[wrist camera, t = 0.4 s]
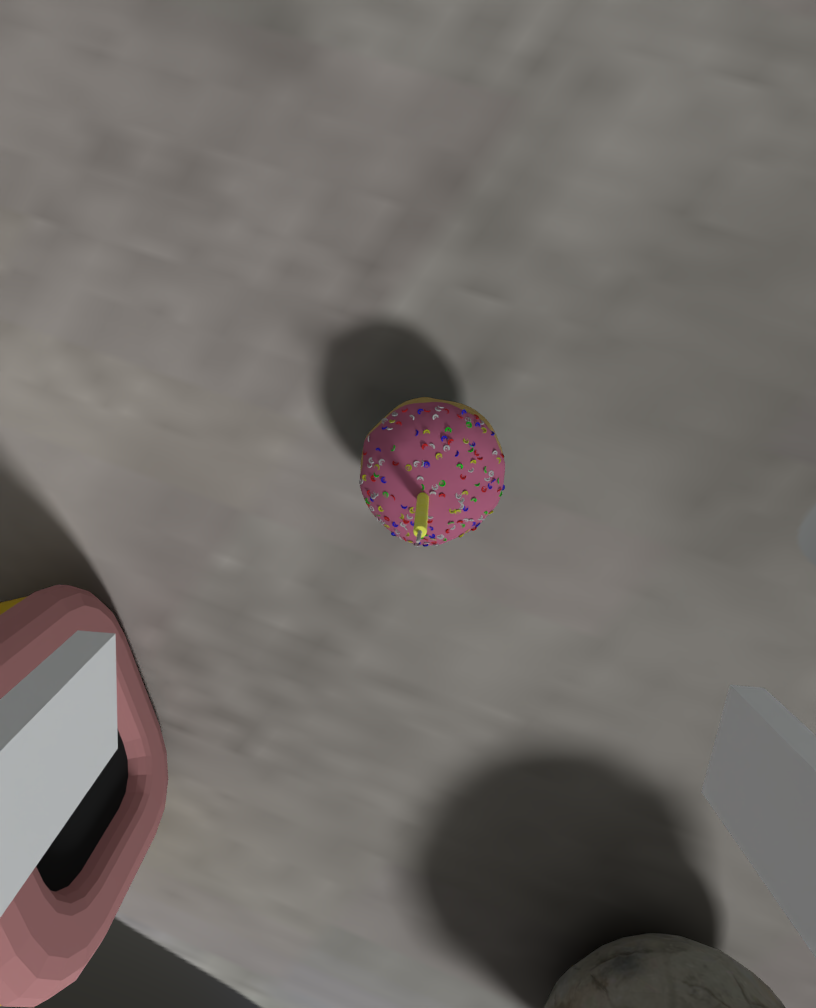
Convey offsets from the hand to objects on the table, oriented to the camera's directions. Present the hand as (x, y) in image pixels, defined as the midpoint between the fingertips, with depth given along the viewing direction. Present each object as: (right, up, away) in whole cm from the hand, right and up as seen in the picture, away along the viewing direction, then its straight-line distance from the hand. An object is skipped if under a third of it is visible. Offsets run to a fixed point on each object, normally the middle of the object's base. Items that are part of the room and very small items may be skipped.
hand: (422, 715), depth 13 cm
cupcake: (+1, +8, +26) cm, 27 cm away
